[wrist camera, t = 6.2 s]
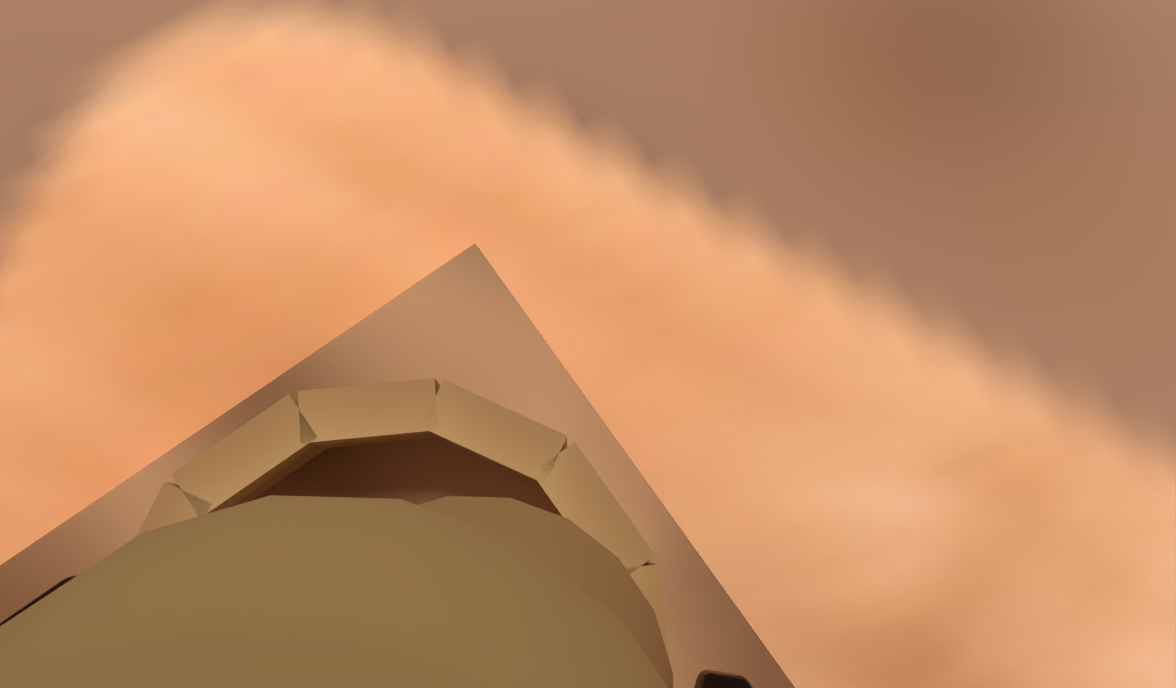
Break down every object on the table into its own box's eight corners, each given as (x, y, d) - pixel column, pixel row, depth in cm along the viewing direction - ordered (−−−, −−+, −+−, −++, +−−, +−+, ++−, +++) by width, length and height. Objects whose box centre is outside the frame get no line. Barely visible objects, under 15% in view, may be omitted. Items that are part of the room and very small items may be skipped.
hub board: (321, 1096, 20) (285, 1181, 18) (3, 581, 22) (-73, 588, 19) (809, 716, 22) (843, 743, 19) (479, 257, 23) (468, 223, 21)
